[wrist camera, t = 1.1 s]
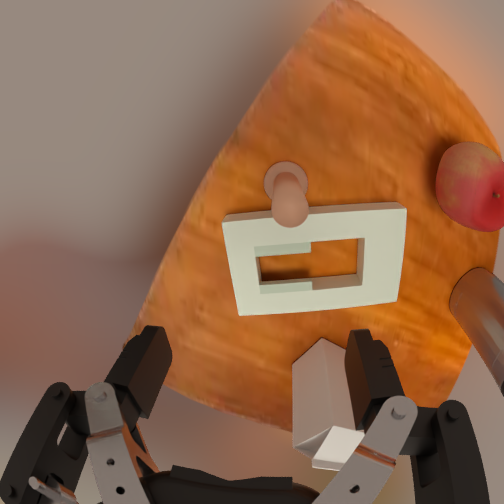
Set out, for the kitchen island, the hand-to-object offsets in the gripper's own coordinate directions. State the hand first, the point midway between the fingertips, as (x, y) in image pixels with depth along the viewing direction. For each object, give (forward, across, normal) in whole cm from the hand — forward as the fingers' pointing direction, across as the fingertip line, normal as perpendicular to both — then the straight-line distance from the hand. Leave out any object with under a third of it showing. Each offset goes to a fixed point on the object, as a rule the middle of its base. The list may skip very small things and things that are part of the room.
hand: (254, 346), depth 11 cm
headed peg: (+21, -2, -3) cm, 21 cm away
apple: (+21, -23, -4) cm, 31 cm away
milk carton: (+21, -8, +24) cm, 33 cm away
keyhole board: (+21, -5, +6) cm, 22 cm away
